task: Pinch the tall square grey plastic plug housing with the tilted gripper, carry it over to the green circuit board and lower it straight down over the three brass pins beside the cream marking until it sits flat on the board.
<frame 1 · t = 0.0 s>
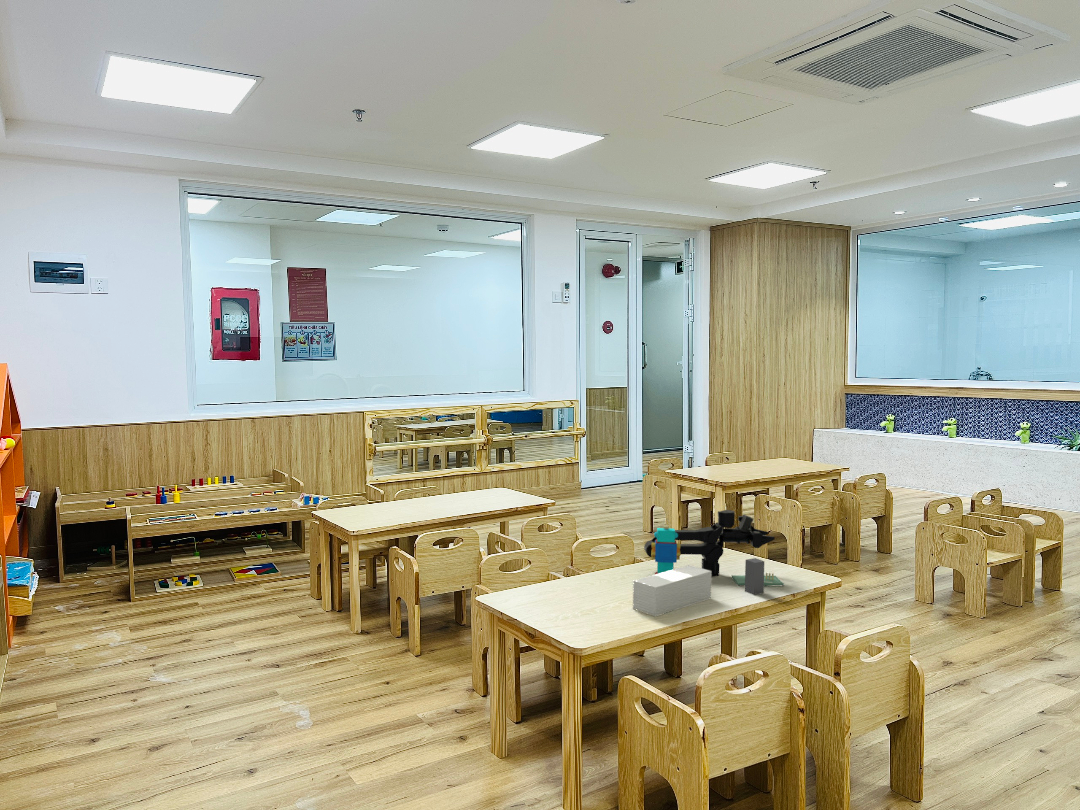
hand: (771, 535, 329), 17 cm above the table, tool horizontal, fingers open, 9 cm apart
toy robot: (665, 580, 322), on the table
stack of papers: (672, 604, 292), on the table
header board: (757, 581, 320), on the table
plug housing: (754, 592, 306), on the table
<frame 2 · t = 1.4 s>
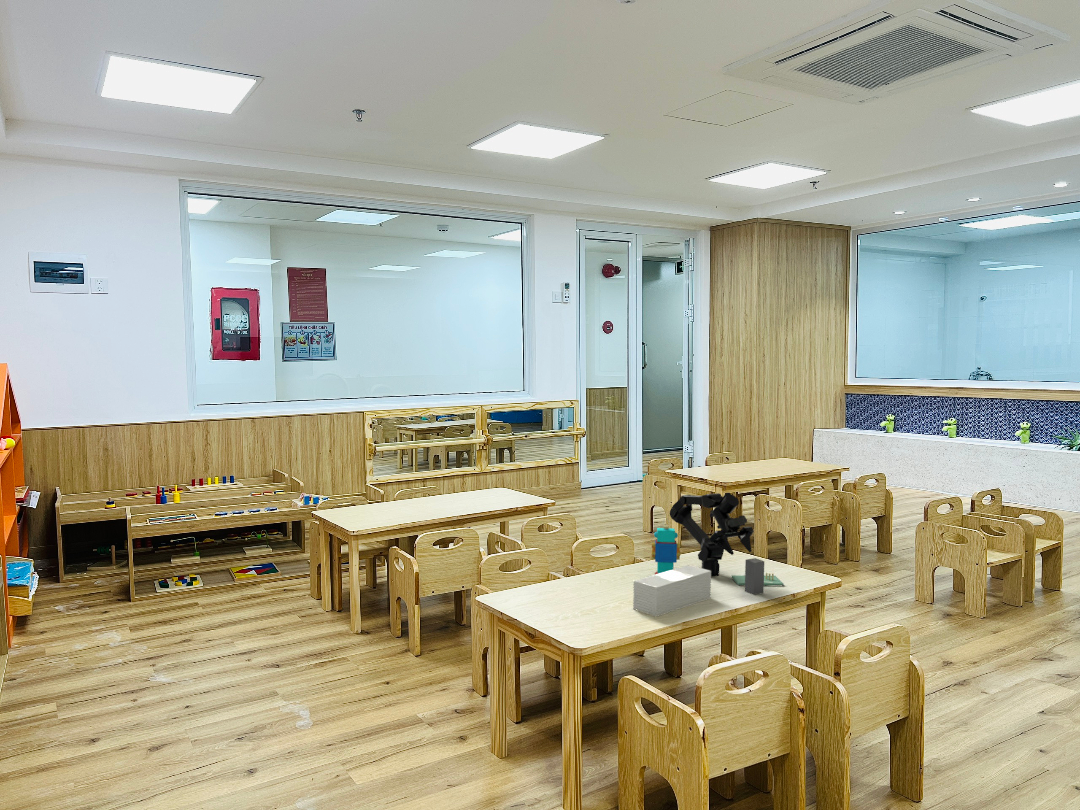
hand: (741, 553, 312), 14 cm above the table, tool tilted 45°, fingers open, 9 cm apart
nothing on the table moved.
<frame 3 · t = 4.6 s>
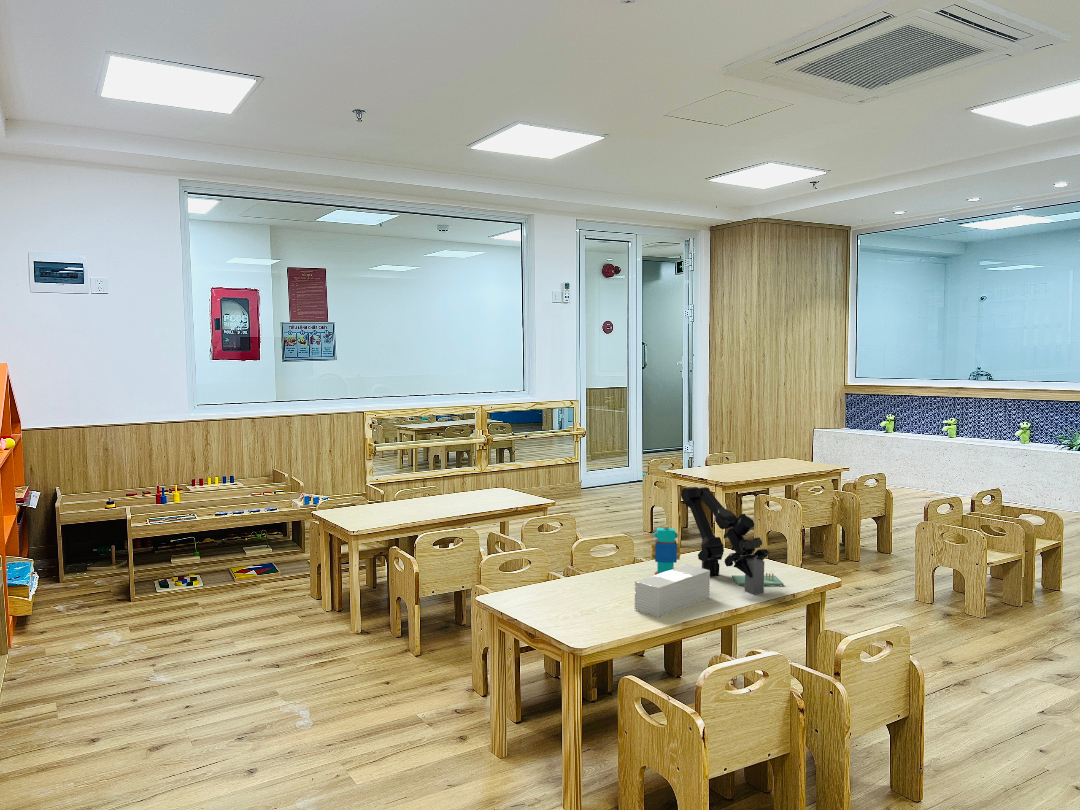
hand: (757, 576, 304), 7 cm above the table, tool tilted 45°, fingers closed on plug housing, 5 cm apart
plug housing: (754, 592, 306), on the table, touching gripper
everything else where it was.
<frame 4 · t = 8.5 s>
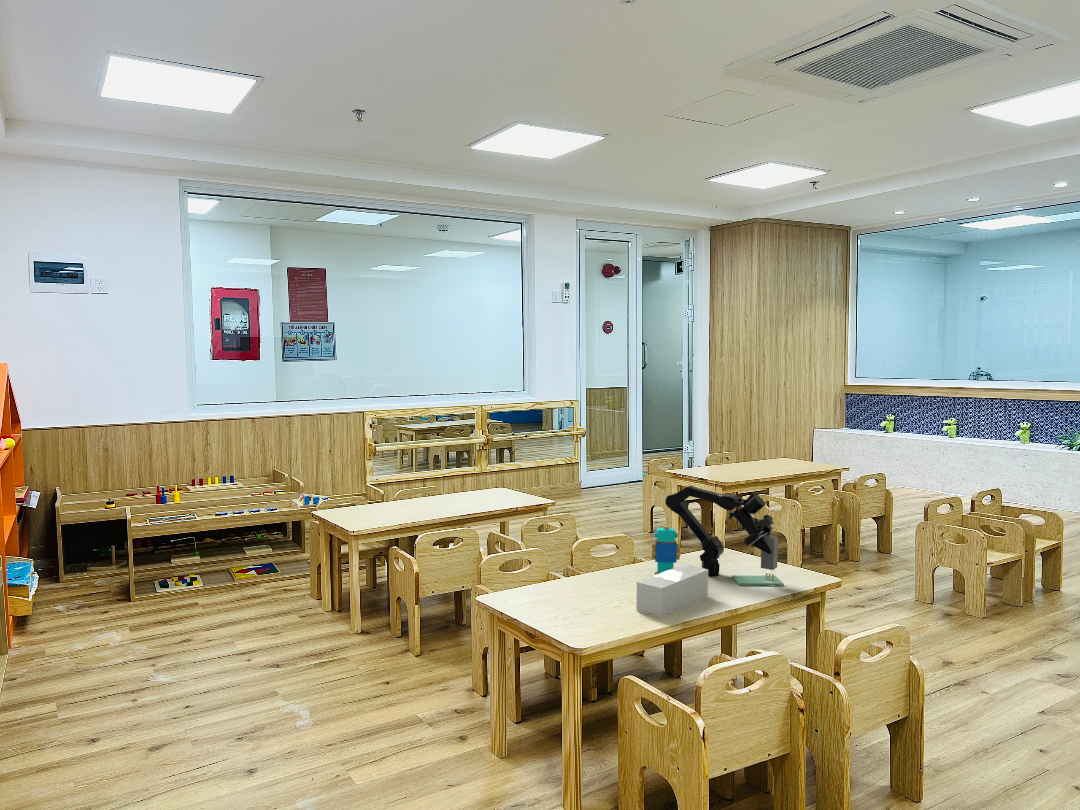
hand: (772, 552, 314), 14 cm above the table, tool tilted 45°, fingers closed on plug housing, 5 cm apart
plug housing: (768, 567, 315), point 7 cm above the table, touching gripper
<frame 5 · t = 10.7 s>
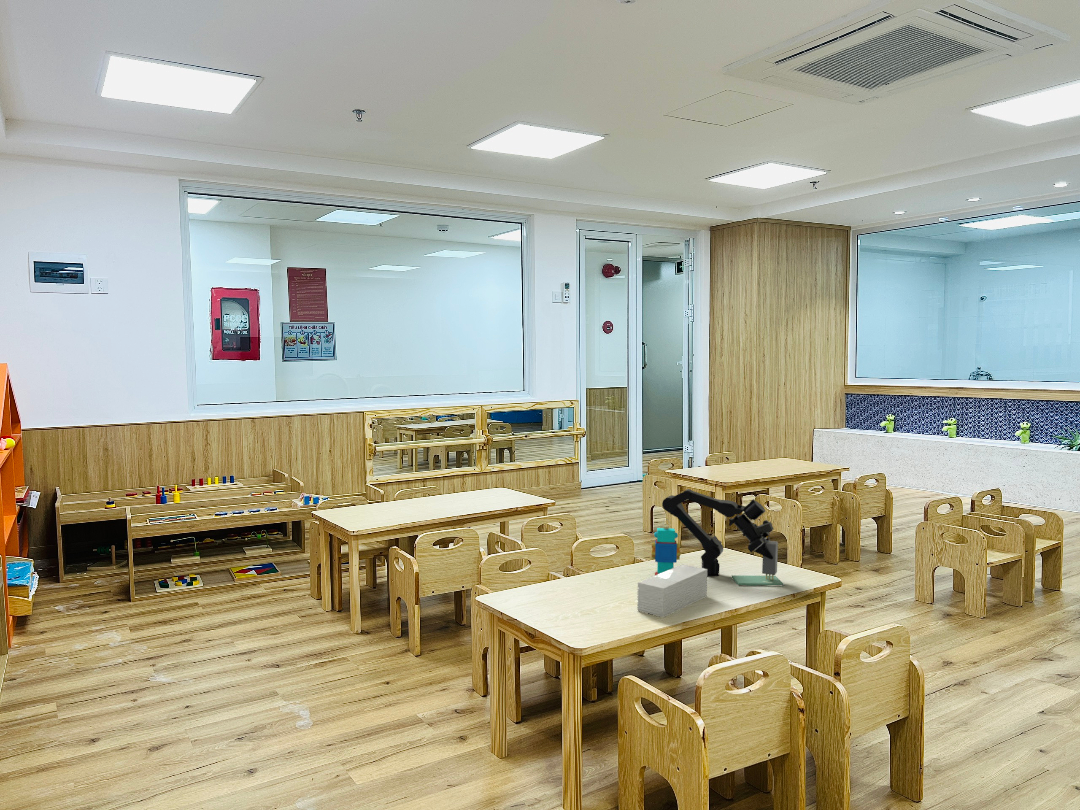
hand: (773, 557, 318), 10 cm above the table, tool tilted 45°, fingers closed on plug housing, 5 cm apart
plug housing: (769, 572, 319), point 4 cm above the table, touching gripper
when the fingers open (9 cm above the table, at t = 12.5 s): plug housing stays where it is, resting on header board.
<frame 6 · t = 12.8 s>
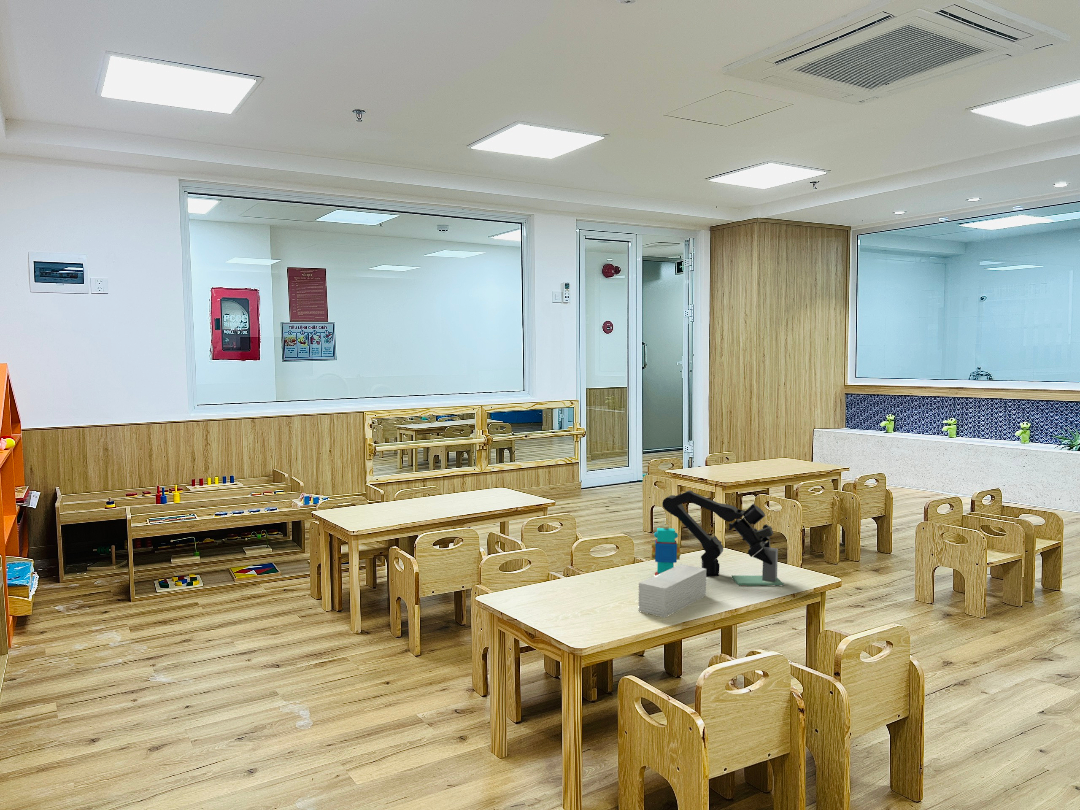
hand: (773, 561, 318), 9 cm above the table, tool tilted 45°, fingers open, 8 cm apart
plug housing: (769, 579, 320), point 1 cm above the table, touching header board
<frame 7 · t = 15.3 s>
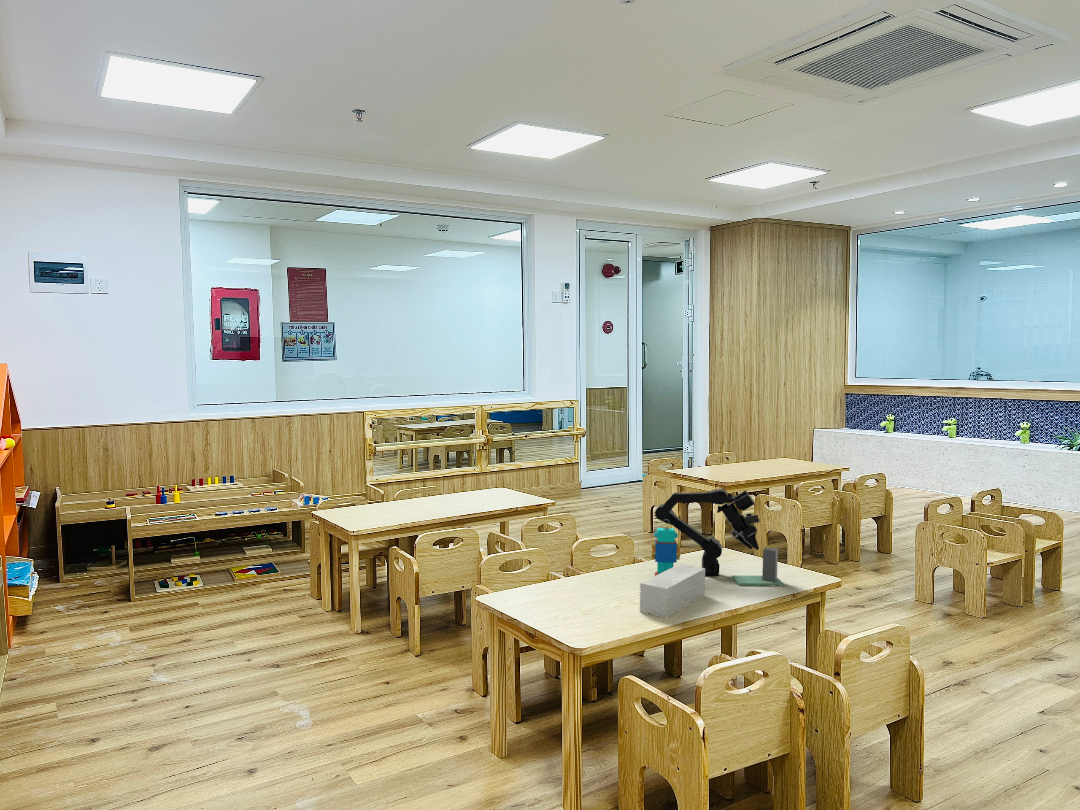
hand: (754, 549, 324), 12 cm above the table, tool tilted 35°, fingers open, 9 cm apart
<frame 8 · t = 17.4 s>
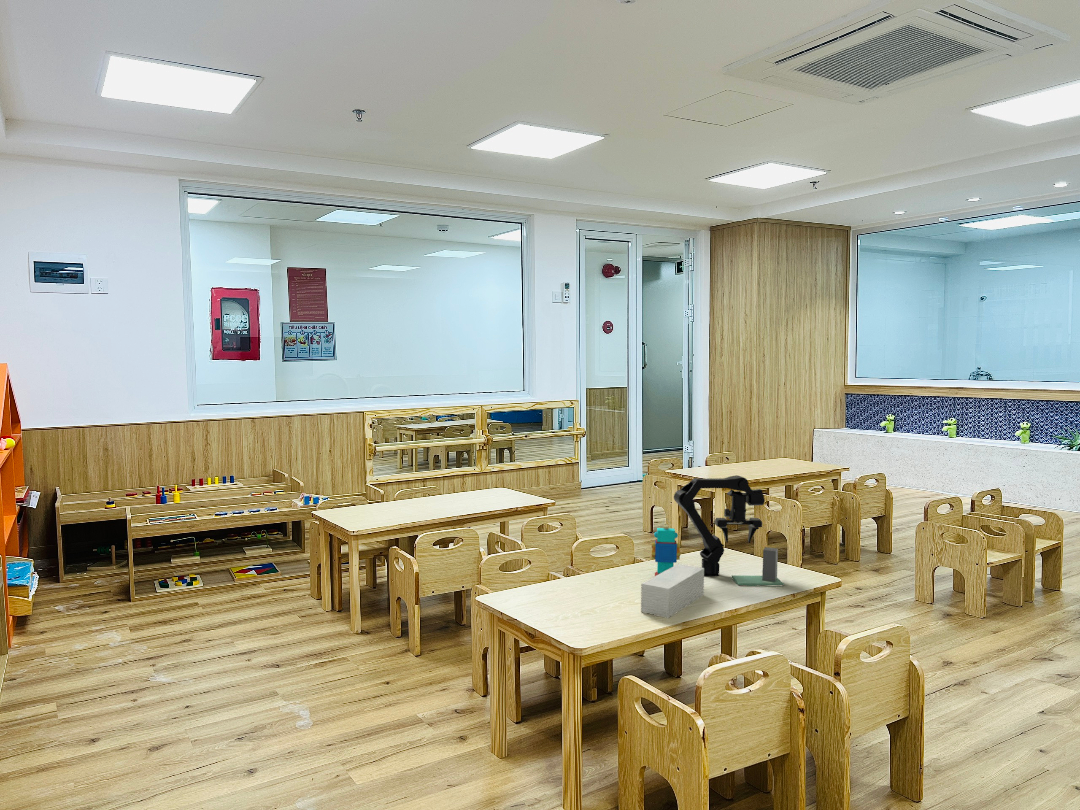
hand: (737, 542, 331), 13 cm above the table, tool pointing down, fingers open, 9 cm apart
at the end: plug housing 0.1 cm from the target spot on the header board, point 1.0 cm above the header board's base; plug housing tilted 0°; the gripper is holding nothing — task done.
